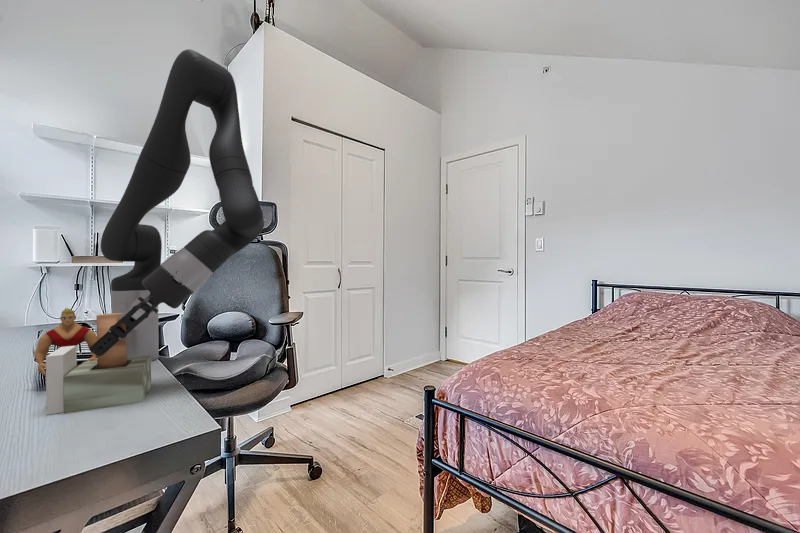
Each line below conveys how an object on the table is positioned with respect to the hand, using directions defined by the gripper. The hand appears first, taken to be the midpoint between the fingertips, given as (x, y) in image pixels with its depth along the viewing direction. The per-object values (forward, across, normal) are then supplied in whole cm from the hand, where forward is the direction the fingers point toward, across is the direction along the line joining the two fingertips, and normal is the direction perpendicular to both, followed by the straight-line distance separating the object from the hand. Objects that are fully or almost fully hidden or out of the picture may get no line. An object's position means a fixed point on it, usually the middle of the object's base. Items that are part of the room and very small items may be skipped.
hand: (97, 350), depth 63 cm
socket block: (+5, 0, +8) cm, 9 cm away
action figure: (+11, -13, +2) cm, 17 cm away
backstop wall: (+9, 0, +3) cm, 10 cm away
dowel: (+2, 0, +4) cm, 5 cm away
